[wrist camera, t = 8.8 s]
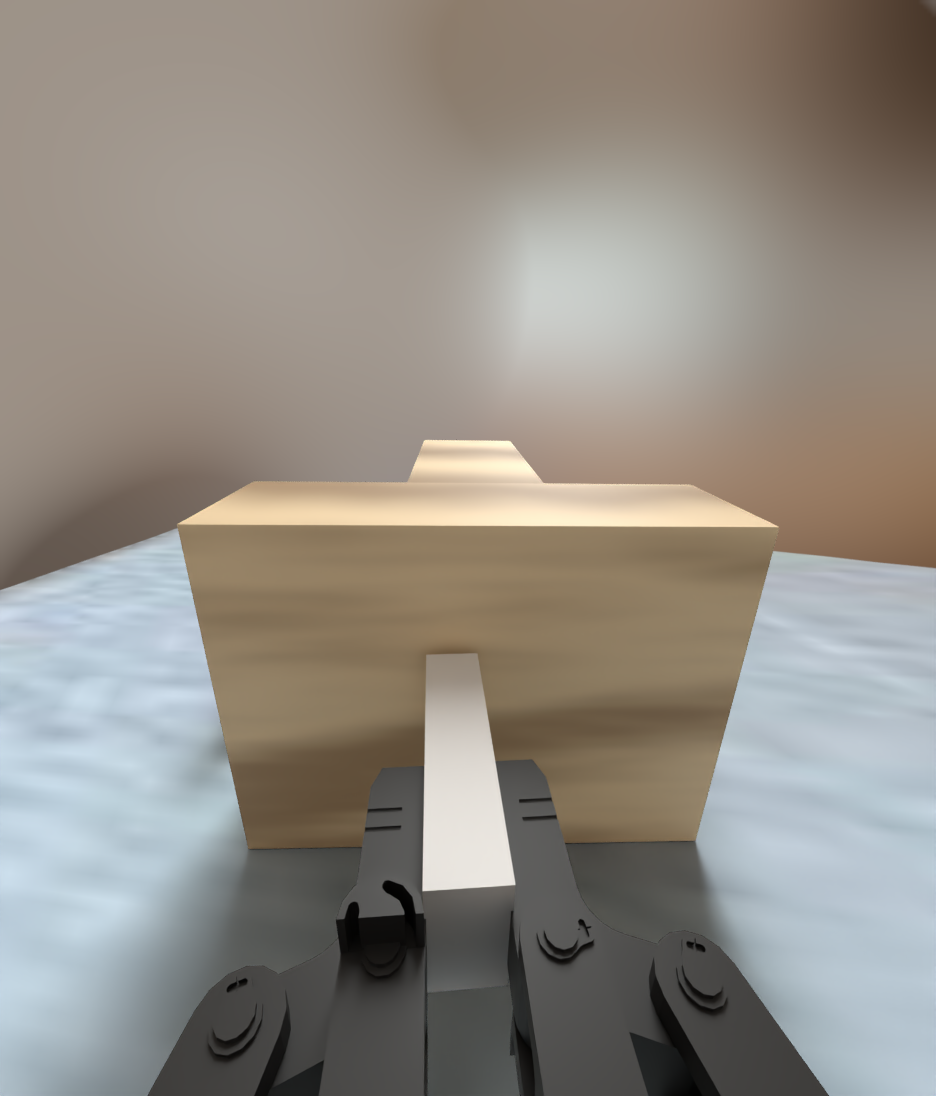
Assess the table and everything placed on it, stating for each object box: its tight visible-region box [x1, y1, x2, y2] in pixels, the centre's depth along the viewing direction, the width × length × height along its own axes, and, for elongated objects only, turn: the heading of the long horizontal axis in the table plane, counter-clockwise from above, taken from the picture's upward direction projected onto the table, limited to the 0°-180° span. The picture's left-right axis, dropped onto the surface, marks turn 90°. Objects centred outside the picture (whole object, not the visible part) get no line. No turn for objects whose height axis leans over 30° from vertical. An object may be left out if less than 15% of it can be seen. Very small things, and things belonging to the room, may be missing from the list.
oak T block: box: [177, 440, 779, 849], centre depth 22 cm, size 16×16×12 cm
